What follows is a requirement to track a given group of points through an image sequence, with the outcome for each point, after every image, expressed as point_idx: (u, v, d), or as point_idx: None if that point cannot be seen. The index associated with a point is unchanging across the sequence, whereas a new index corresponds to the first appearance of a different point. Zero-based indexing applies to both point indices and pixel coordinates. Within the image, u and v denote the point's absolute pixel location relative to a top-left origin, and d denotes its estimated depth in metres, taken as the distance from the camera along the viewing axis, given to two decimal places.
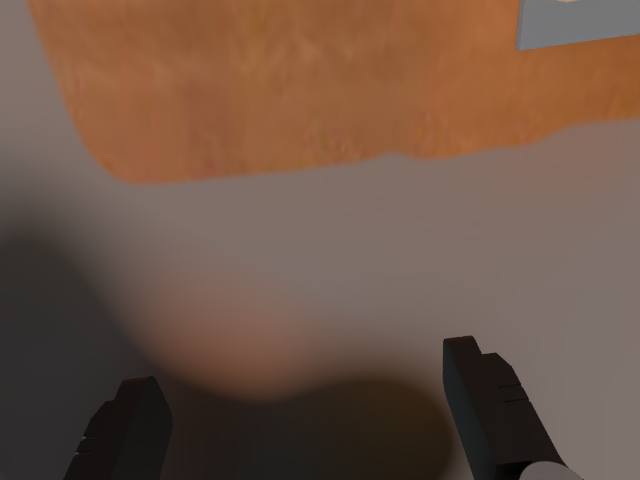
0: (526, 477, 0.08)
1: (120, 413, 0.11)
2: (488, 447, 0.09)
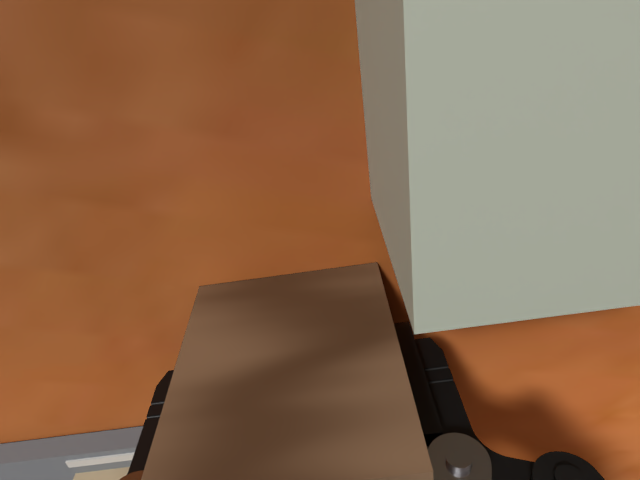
0: (432, 453, 0.09)
1: None
2: None
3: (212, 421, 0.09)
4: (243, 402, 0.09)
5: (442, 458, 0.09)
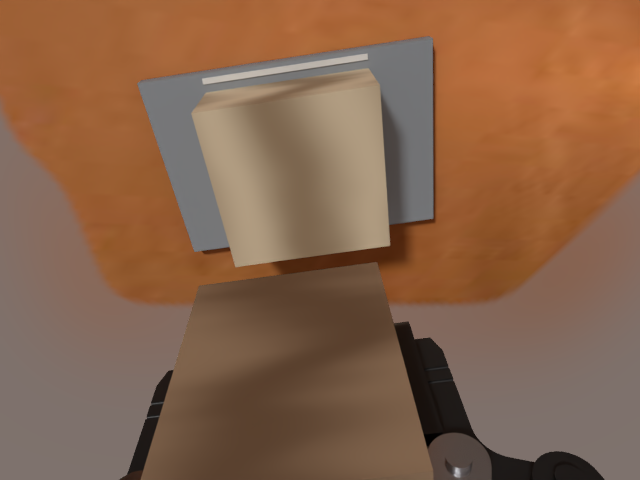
0: (432, 453, 0.09)
1: None
2: None
3: (212, 421, 0.09)
4: (243, 402, 0.09)
5: (442, 458, 0.09)
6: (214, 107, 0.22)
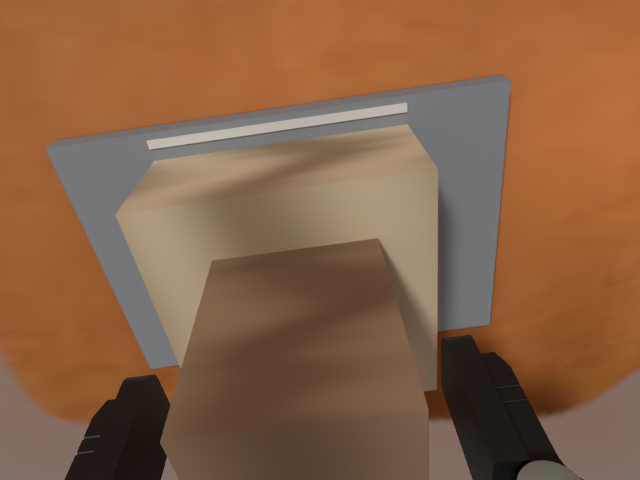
0: (524, 477, 0.08)
1: (122, 412, 0.11)
2: (486, 446, 0.09)
3: (229, 372, 0.10)
4: (256, 357, 0.10)
5: None
6: (157, 201, 0.13)
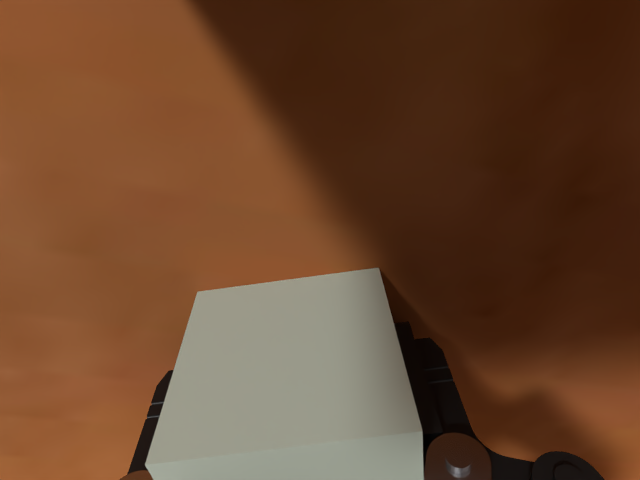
0: (432, 454, 0.09)
1: None
2: None
3: None
4: None
5: (442, 458, 0.09)
6: None
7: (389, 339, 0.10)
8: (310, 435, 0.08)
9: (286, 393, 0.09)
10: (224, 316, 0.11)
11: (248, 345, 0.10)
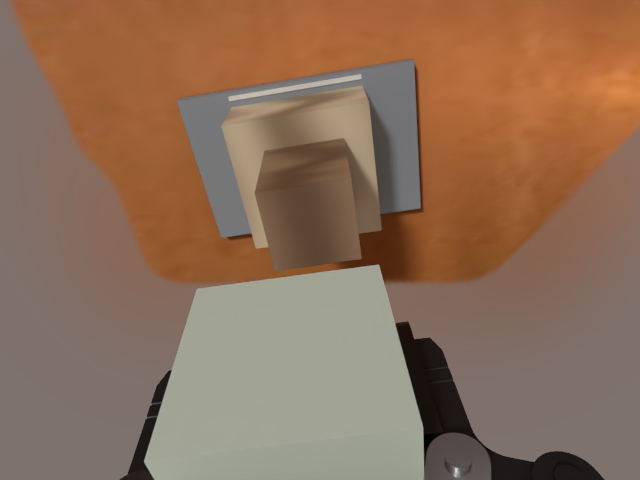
0: (432, 453, 0.09)
1: None
2: None
3: (277, 178, 0.24)
4: (288, 173, 0.24)
5: (441, 458, 0.09)
6: (239, 121, 0.28)
7: (389, 336, 0.10)
8: (309, 432, 0.08)
9: (286, 390, 0.09)
10: (223, 313, 0.11)
11: (248, 342, 0.10)
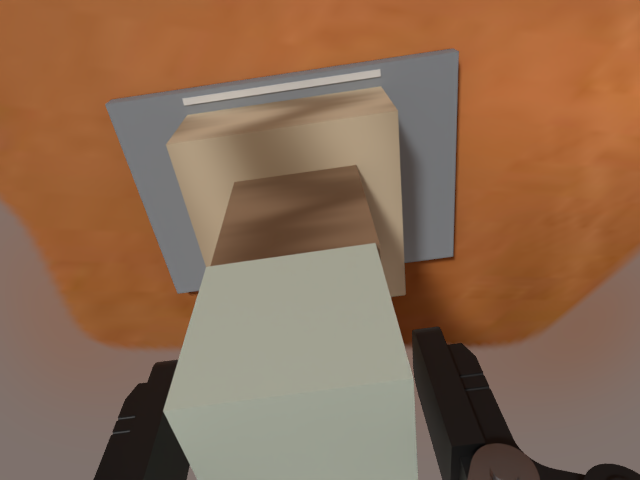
0: (476, 462, 0.09)
1: (155, 394, 0.11)
2: (445, 431, 0.09)
3: (251, 235, 0.14)
4: (269, 227, 0.15)
5: (487, 470, 0.08)
6: (194, 136, 0.18)
7: (384, 303, 0.11)
8: (312, 383, 0.09)
9: (290, 350, 0.10)
10: (231, 287, 0.12)
11: (255, 311, 0.11)
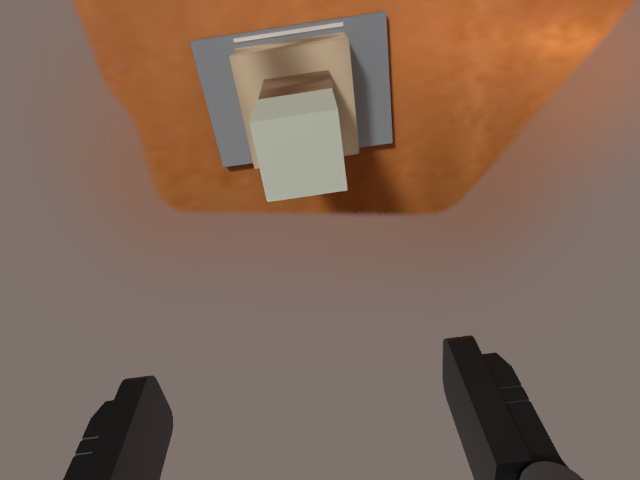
0: (526, 478, 0.08)
1: (120, 413, 0.11)
2: (488, 447, 0.09)
3: (275, 91, 0.31)
4: (284, 89, 0.31)
5: None
6: (243, 54, 0.34)
7: (332, 99, 0.27)
8: (302, 113, 0.25)
9: (294, 110, 0.26)
10: (269, 102, 0.28)
11: (280, 105, 0.27)
